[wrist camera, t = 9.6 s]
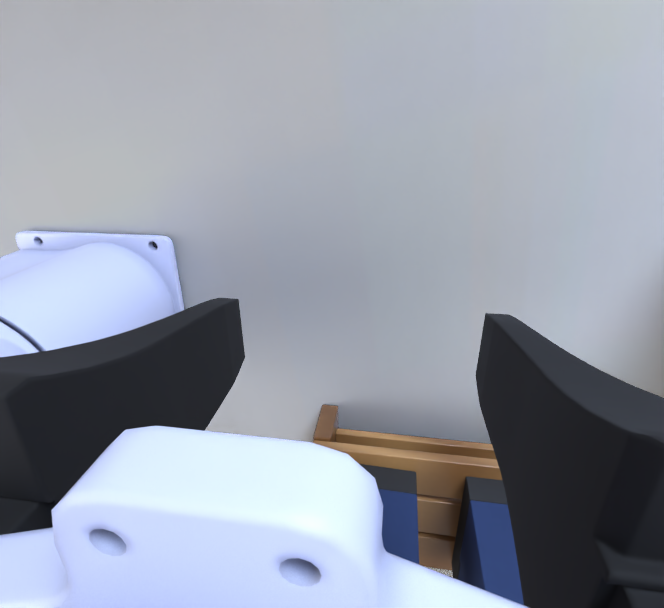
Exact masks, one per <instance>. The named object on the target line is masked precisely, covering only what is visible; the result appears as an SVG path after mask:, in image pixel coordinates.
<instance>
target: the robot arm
mask: <svg viewBox="0 0 664 608" xmlns="http://www.w3.org/2000/svg"><path fill="white" fill-rule="evenodd" d="M15 238H16V242H17V245H18V248H19V251H16V252H13V253H10V254H8V255H5V256H2V257H0V608H664V398H662V397H660V396H657V395H655V394H652V393H650V392H647V391H644V390H642V389H640V388H637V387H635V386H633V385H630V384H628V383H626V382H624V381H621V380H619V379H617V378H615V377H613V376H611V375H609V374H607V373H605V372H603V371H601V370H599V369H597V368H595V367H593V366H591V365H589V364H587V363H586V362H584V361H582V360H580V359H579V358H577V357H575V356H573V355H572V354H570V353H568V352H567V351H565V350H563V349H562V348H560V347H559V346H557V345H556V344H554V343H552V342H551V341H549V340H548V339H546V338H545V337H543V336H542V335H540V334H539V333H537V332H536V331H534V330H533V329H531V328H530V327H528V326H527V325H525V324H524V323H522V322H521V321H519V320H518V319H516V318H514V317H513V316H510V315H505V314H487V313H486V314H485V321H484V327H483V333H482V339H481V345H480V352H479V358H478V364H477V370H476V381H477V389H478V396H479V402H480V407H481V410H482V414H483V417H484V420H485V424H486V427H487V430H488V433H489V437H490V440H491V443H492V446H493V450H494V453H495V456H496V459H497V462H498V466H499V469H500V472H501V476H502V480H503V484H504V488H505V493H506V498H507V504H508V509H509V515H510V520H511V525H512V531H513V537H514V543H515V549H516V555H517V561H518V568H519V575H520V582H521V588H522V595H523V602H524V605H521V604H519V603H516V602H514V601H511V600H509V599H506V598H503V597H501V596H498V595H496V594H493V593H491V592H488V591H486V590H483V589H480V588H478V587H475V586H473V585H470V584H468V583H465V582H462V581H460V580H457V579H455V578H452V577H450V576H447V575H444V574H442V573H439V572H437V571H434V570H432V569H429V568H426V567H424V566H421V565H419V564H416V563H414V562H411V561H409V560H406V559H403V558H401V557H398V556H396V555H393V554H391V553H388V552H387V551H386V550H385V548H384V546H383V540H382V520H383V503H382V500H381V496H380V493H379V490H378V487H377V483H376V480H375V478H374V477H373V476H372V475H371V474H370V473H369V472H368V471H366V470H365V469H364V468H363V467H362V466H361V465H360V464H358V463H357V462H356V461H355V460H354V459H353V458H352V457H351V456H349V455H348V454H346V453H343V452H340V451H337V450H334V449H330V448H327V447H324V446H321V445H318V444H315V443H311V442H304V441H295V440H285V439H276V438H267V437H258V436H248V435H239V434H230V433H221V432H211V431H205V429H206V427H207V426H208V424H209V423H210V421H211V419H212V418H213V416H214V415H215V413H216V412H217V410H218V408H219V407H220V405H221V404H222V402H223V400H224V399H225V397H226V395H227V394H228V392H229V391H230V389H231V387H232V386H233V384H234V382H235V380H236V377H237V375H238V373H239V371H240V368H241V366H242V363H243V361H244V358H245V354H244V345H243V336H242V327H241V318H240V310H239V301H238V299H229V298H217V299H213V300H209V301H206V302H203V303H201V304H198V305H195V306H193V307H190V308H188V309H184V303H183V297H182V291H181V286H180V280H179V274H178V268H177V263H176V257H175V251H174V245H173V242H172V241H171V239H170V238H168V237H167V236H162V235H134V234H106V233H78V232H50V231H21V232H18V233H17V234H16V237H15ZM40 239H41V240H42V241H43V243H42V242H41V241H40ZM152 241H153V242H155V243H156V244H157V246H158V247H157V248H155V247H154V246H153V244H152Z"/></svg>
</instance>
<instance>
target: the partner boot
mask: <svg viewBox="0 0 664 608" xmlns="http://www.w3.org/2000/svg"><path fill="white" fill-rule="evenodd" d="M451 563H452V572H453V578H455V579H457V580H460V581H462V582H465V583H468V584H470V585H473V586H475V587H478V588H480V589H483V590H486V591H488V592H491V593H493V594H496V595H498V596H501V597H503V598H506V599H509V600H511V601H514V602H516V603H519V604H521V605H524V602H523V595H522V588H521V582H520V575H519V568H518V561H517V555H516V549H515V543H514V537H513V531H512V525H511V520H510V515H509V509H508V504H507V498H506V493H505V488H504V484H503V480H495V479H486V478H477V477H469V476H466V480H465V485H464V491H463V497H462V503H461V509H460V515H459V521H458V527H457V533H456V538H455V544H454V550H453V556H452V562H451Z"/></svg>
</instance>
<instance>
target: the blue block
mask: <svg viewBox="0 0 664 608" xmlns="http://www.w3.org/2000/svg"><path fill="white" fill-rule="evenodd" d="M360 465H361V466H362V467H363V468H364V469H365V470H366V471H368V472H369V473H370V474H371V475H372V476H373V477H374V478H375V480H376V483H377V487H378V490H379V493H380V496H381V500H382V503H383V520H382V540H383V546H384V548H385V550H386V551H387V552H388V553H391V554H393V555H396V556H398V557H401V558H403V559H406V560H409V561H411V562H414V563H416V564H419V541H418V509H417V479H416V472H414V471H407V470H400V469H393V468H386V467H379V466H372V465H365V464H360Z"/></svg>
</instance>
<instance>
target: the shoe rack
mask: <svg viewBox="0 0 664 608" xmlns="http://www.w3.org/2000/svg"><path fill="white" fill-rule="evenodd" d="M313 443H315V444H318V445H321V446H324V447H327V448H330V449H334V450H337V451H340V452H343V453H346V454H348V455H349V456H351V457H352V458H353V459H354V460H355V461H356V462H357V463H358V464H365V465H372V466H379V467H386V468H393V469H400V470H407V471H414V472H416V479H417V509H418V541H419V565H421V566H425V567H432V568H439V569H446V570H452V563H451V562H452V556H453V550H454V544H455V538H456V533H457V527H458V521H459V515H460V509H461V503H462V497H463V491H464V485H465V480H466V476H469V477H477V478H486V479H495V480H502V476H501V472H500V469H499V466H498V462H497V459H496V456H495V453H494V450H493V446H492V444H485V443H476V442H466V441H456V440H446V439H436V438H427V437H417V436H407V435H397V434H387V433H378V432H368V431H358V430H348V429H338V406H332V405H322V408H321V412H320V415H319V419H318V423H317V426H316V430H315V433H314V441H313Z"/></svg>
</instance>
